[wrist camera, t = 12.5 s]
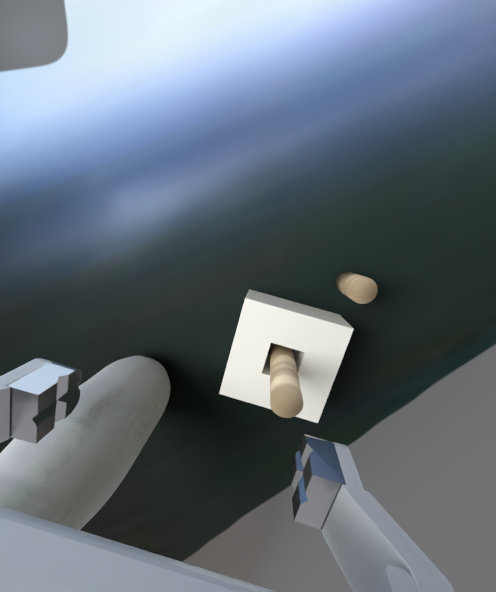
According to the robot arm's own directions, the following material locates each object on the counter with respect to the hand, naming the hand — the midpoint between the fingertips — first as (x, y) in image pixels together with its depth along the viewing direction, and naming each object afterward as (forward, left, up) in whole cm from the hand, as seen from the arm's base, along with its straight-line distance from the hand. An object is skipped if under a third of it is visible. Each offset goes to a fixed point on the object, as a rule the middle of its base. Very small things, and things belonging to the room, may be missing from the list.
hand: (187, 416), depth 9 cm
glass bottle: (+18, -11, -27) cm, 34 cm away
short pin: (-4, +13, -27) cm, 30 cm away
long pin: (+7, +7, -27) cm, 29 cm away
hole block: (+7, +7, -27) cm, 29 cm away
